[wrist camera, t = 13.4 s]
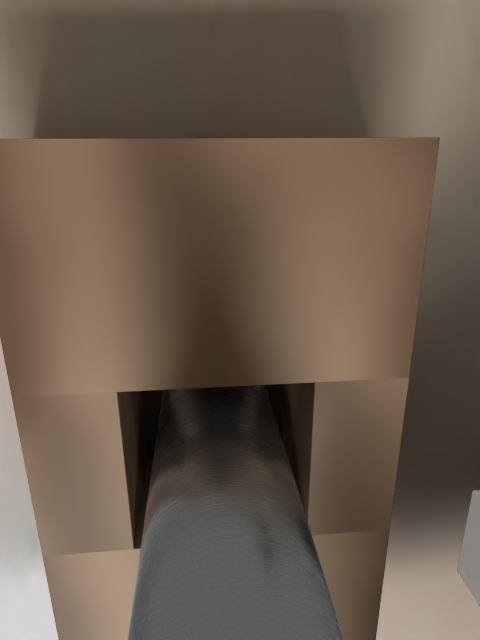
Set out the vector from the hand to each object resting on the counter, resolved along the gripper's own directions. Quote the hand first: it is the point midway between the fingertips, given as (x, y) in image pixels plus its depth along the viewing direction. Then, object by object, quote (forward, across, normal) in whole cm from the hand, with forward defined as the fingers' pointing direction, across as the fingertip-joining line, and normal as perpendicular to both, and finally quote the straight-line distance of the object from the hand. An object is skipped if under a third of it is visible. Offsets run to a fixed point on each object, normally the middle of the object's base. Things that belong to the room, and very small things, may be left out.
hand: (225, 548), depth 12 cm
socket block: (+8, 0, 0) cm, 8 cm away
